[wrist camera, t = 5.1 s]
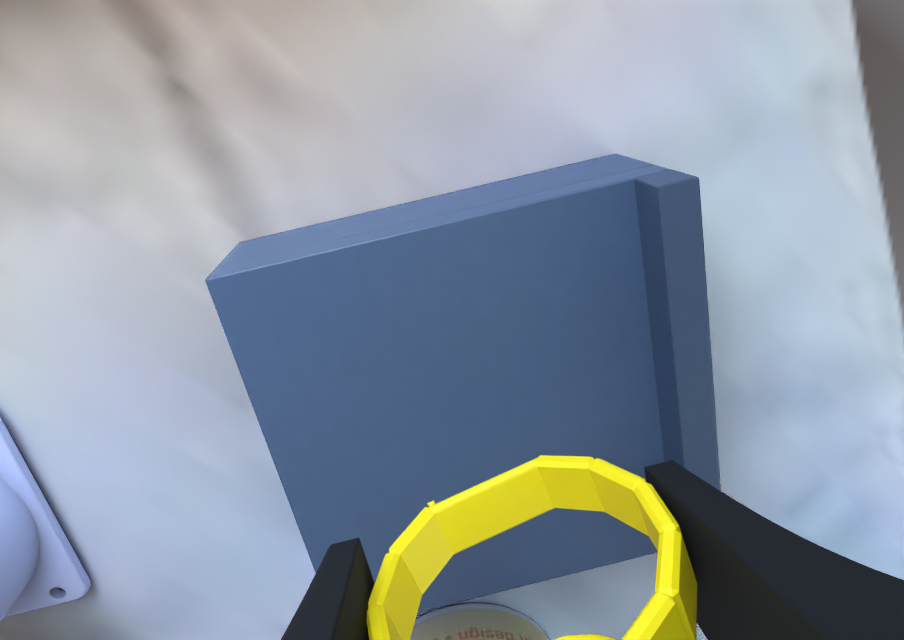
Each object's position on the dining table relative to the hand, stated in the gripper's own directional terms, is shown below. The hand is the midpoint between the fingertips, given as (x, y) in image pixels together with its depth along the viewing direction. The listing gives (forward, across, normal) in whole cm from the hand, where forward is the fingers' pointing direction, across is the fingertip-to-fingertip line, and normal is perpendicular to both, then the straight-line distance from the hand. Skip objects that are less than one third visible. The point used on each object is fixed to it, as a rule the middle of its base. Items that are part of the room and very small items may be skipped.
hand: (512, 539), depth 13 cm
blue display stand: (+9, 0, 0) cm, 9 cm away
